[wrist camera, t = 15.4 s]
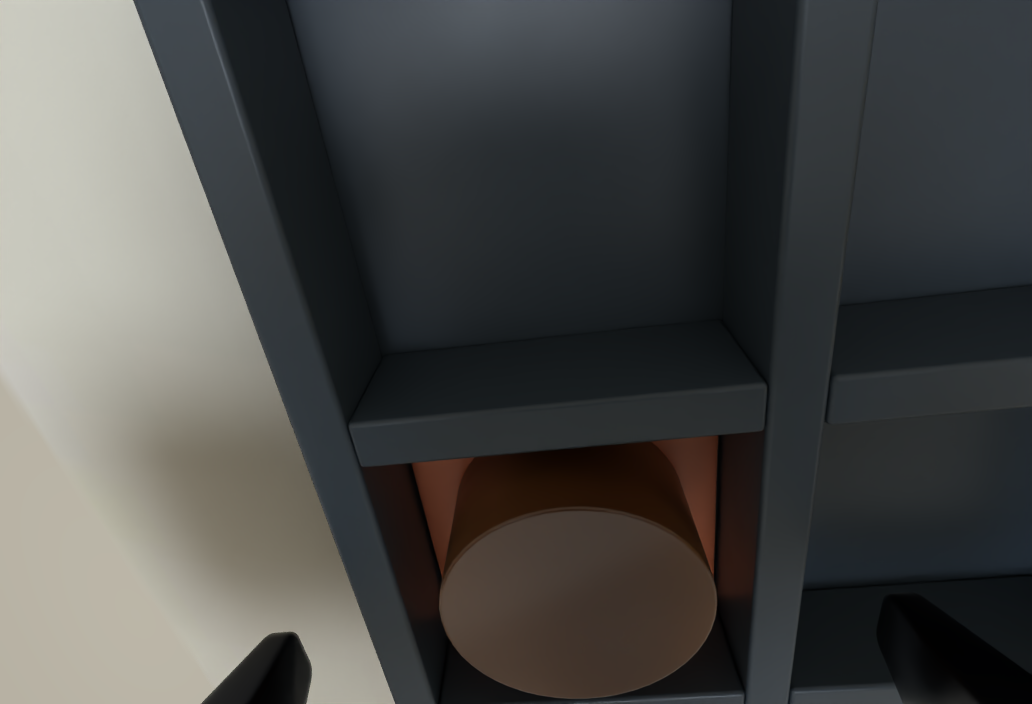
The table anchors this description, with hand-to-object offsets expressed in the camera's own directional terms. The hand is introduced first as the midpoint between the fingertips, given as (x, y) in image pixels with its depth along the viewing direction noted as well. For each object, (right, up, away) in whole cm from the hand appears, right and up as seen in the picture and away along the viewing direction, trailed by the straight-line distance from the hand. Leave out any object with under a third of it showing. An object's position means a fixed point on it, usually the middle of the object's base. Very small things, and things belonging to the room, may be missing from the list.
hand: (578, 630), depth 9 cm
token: (0, +1, +2) cm, 3 cm away
